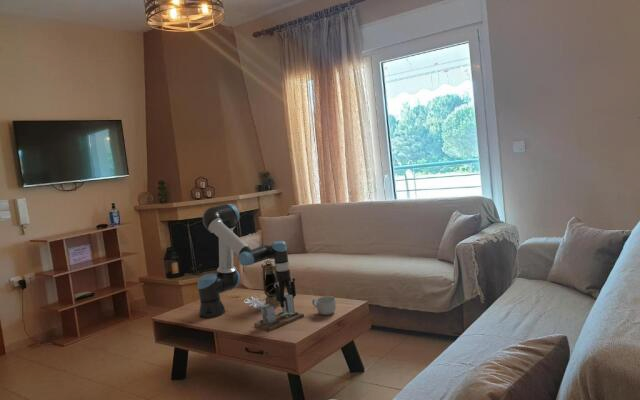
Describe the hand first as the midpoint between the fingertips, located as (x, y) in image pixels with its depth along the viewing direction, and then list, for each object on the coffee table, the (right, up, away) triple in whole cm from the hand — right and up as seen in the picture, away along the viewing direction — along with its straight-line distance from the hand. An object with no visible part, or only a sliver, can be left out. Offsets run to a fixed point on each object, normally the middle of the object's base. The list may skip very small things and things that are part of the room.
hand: (288, 311), depth 258 cm
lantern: (-10, -3, +27) cm, 29 cm away
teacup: (+20, -1, +1) cm, 20 cm away
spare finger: (0, 0, 0) cm, 0 cm away
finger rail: (-4, -5, -4) cm, 7 cm away
